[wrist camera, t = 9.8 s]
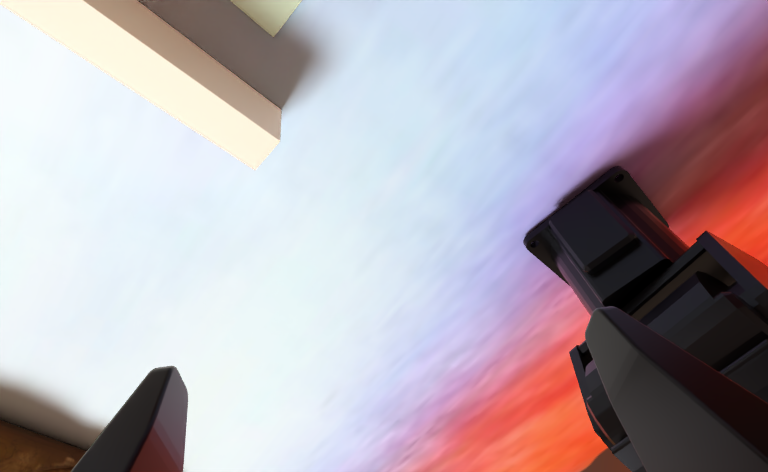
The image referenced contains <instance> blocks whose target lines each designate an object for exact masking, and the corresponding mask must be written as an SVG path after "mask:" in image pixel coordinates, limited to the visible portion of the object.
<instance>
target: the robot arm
mask: <svg viewBox="0 0 768 472" xmlns="http://www.w3.org/2000/svg"><path fill="white" fill-rule="evenodd" d="M617 175H619V176H618V177H617V178H615V177H616V176H617ZM696 240H697V242H696V243H695V244H694V245H692V246H691V247H688V246H687V245H686V244H685V243H684V242H683V241H682V240H681V239H680V238H679V237H678V236H677V235H675V234H674V233H673V232H672V231H671V230H670V229H669V225H668V223H667V222H666V221H665V219H664V218H663V217H662V216H661V214H660V213H659V212H658V210H657V209H656V208H655V207H654V205H653V204H652V203H651V201H650V200H649V199H648V198H647V196H646V195H645V194H644V192H643V191H642V190H641V189H640V187H639V186H638V185H637V183H636V182H635V181H634V180H633V178H632V177H631V176H630V174H629V173H628V172H627V171H626V170H625V169H624V168H622V167H620V166H617V167H614V168H612V169H610V170H609V171H608V172H607V173H605V174H604V175H603V176H602V177H600V178H599V179H598V180H597V181H595V182H594V183H593V184H592V185H590V186H589V187H588V188H586V189H585V190H584V191H583V192H581V193H580V194H579V195H578V196H576V197H575V198H574V199H573V200H571V201H570V202H569V203H568V204H566V205H565V206H564V207H562V208H561V209H560V210H559V211H557V212H556V213H555V214H554V215H552V216H551V217H550V218H549V219H547V220H546V221H545V222H544V223H542V224H541V225H540V226H538V227H537V228H536V229H535V230H533V231H532V232H531V233H530V234H528V235H527V236H526V237H525V238H524V241H523V243H524V245H525V246H526V248H527V249H528V250H529V251H530V252H531V253H532V254H533V255H534V256H536V257H537V258H538V259H539V260H540V261H541V262H543V263H544V264H545V265H546V266H547V267H548V268H550V269H551V270H552V271H553V272H554V273H555V274H557V275H558V276H559V277H560V278H561V279H562V280H564V281H565V282H566V283H567V284H568V285H569V286H571V288H572V289H573V291H574V292H575V294H576V295H577V296H578V298H579V299H580V301H581V302H582V304H583V305H584V307H585V308H586V310H587V311H588V312H589V314H590V315H591V319H590V321H589V324H588V326H587V329H586V332H585V338H586V340H585V341H584V342H583V343H582V344H581V345H580V346H579V345H577V346H576V347H574V348H573V349H572V350H571V351H570V352H569V353H570V357H571V360H572V363H573V366H574V370H575V373H576V376H577V380H578V383H579V386H580V389H581V393H582V396H583V399H584V403H585V406H586V409H587V412H588V415H589V418H590V420H591V423H592V426H593V429H594V431H595V432H596V434H597V435H598V436H600V437H601V439H602V440H603V442H604V443H605V444H606V445H607V446H608V448H609V449H610V450H611V451H612V453H613V454H614V455H615V456H616V457H617V458H618V459H619V460H620V461H621V462H622V463H623V464H624V465H626V466H627V467H628V468H629V469H630V470H631V471H632V472H768V267H767V266H766V265H764V264H763V263H762V262H760V261H759V260H757V259H755V258H754V257H752V256H750V255H748V254H747V253H745V252H743V251H741V250H740V249H738V248H736V247H734V246H733V245H731V244H729V243H727V242H726V241H724V240H722V239H720V238H719V237H717V236H715V235H713V234H712V233H710V232H708V231H705V232H704V233H703V234H702V235H700V236H699V237H698V238H697V239H696ZM533 241H535V242H533ZM532 242H533V243H532ZM187 407H188V393H187V389H186V386H185V384H184V382H183V380H182V378H181V376H180V374H179V372H178V370H177V368H176V367H174V366H166V367H159V368H155V369H153V370H151V371H150V372H149V374H148V375H147V376H146V377H145V379H144V380H143V381H142V382H141V384H140V385H139V386H138V387H137V389H136V390H135V391H134V392H133V394H132V395H131V396H130V397H129V399H128V400H127V401H126V403H125V404H124V405H123V406H122V408H121V409H120V410H119V411H118V413H117V414H116V415H115V416H114V418H113V419H112V420H111V421H110V423H109V424H108V425H107V426H106V428H105V429H104V430H103V431H102V433H101V434H100V435H99V437H98V438H97V439H96V440H95V442H94V443H93V444H92V445H91V447H90V448H89V449H88V450H87V452H86V453H85V454H84V455H83V457H82V458H81V459H80V460H79V462H78V463H77V464H76V465H75V467H74V468H73V469H72V471H71V472H183V464H184V450H185V436H186V421H187Z"/></svg>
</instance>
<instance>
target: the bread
mask: <svg viewBox="0 0 768 472" xmlns="http://www.w3.org/2000/svg"><path fill="white" fill-rule="evenodd" d="M86 452H87V451H86V450H83V449H80V448H77V447H75V446H72V445H69V444H66V443H64V442H61V441H58V440H55V439H52V438H50V437H47V436H44V435H41V434H39V433H36V432H33V431H30V430H28V429H25V428H22V427H19V426H17V425H14V424H11V423H8V422H6V421H3V420H0V472H71V471H72V469H73V468H74V467H75V465H76V464H77V463H78V462H79V460H80V459H81V458H82V457H83V455H84V454H85V453H86Z"/></svg>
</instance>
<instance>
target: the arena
mask: <svg viewBox="0 0 768 472" xmlns="http://www.w3.org/2000/svg"><path fill="white" fill-rule="evenodd" d="M230 1H231V2H232V3H233V4H235V5H236V6H237V7H238V8H239V9H241V10H242V11H243V12H244V13H245V14H246V15H248V16H249V17H250V18H251V19H252V20H253V21H255V22H256V23H257V24H258V25H259V26H261V27H262V28H263V29H264V30H265V31H266V32H268V33H269V34H270V35H271V36H272V37H273V38H274V36H275V35H276V34H277V32H278V31H279V30H280V28H281V27H282V26H283V25H284V23H285V22H286V21H287V19H288V18H289V17H290V15H291V14H292V13H293V12H294V10H295V9H296V8H297V6H298V5H299V4H300V2H301V1H302V0H230ZM0 5H2V6H3V7H5V8H7V9H8V10H10V11H11V12H13V13H14V14H16V15H17V16H19V17H20V18H22V19H23V20H25V21H27V22H28V23H30V24H31V25H33V26H34V27H36V28H37V29H39V30H40V31H42V32H43V33H45V34H46V35H48V36H50V37H51V38H53V39H54V40H56V41H57V42H59V43H60V44H62V45H63V46H65V47H66V48H68V49H69V50H71V51H73V52H74V53H76V54H77V55H79V56H80V57H82V58H83V59H85V60H86V61H88V62H89V63H91V64H93V65H94V66H96V67H97V68H99V69H100V70H102V71H103V72H105V73H106V74H108V75H109V76H111V77H112V78H114V79H116V80H117V81H119V82H120V83H122V84H123V85H125V86H126V87H128V88H129V89H131V90H132V91H134V92H136V93H137V94H139V95H140V96H142V97H143V98H145V99H146V100H148V101H149V102H151V103H152V104H154V105H155V106H157V107H159V108H160V109H162V110H163V111H165V112H166V113H168V114H169V115H171V116H172V117H174V118H175V119H177V120H178V121H180V122H182V123H183V124H185V125H186V126H188V127H189V128H191V129H192V130H194V131H195V132H197V133H198V134H200V135H202V136H203V137H205V138H206V139H208V140H209V141H211V142H212V143H214V144H215V145H217V146H218V147H220V148H221V149H223V150H225V151H226V152H228V153H229V154H231V155H232V156H234V157H235V158H237V159H238V160H240V161H241V162H243V163H244V164H246V165H248V166H249V167H251V168H252V169H254V170H256V169H257V168H258V166H259V165H260V164H261V163H262V162H263V161H264V159H265V158H266V157H267V156H268V155H269V154H270V153H271V151H272V150H273V149H274V148H275V147H276V146H277V144H278V143H279V142H280V135H281V109H280V108H278V107H277V106H276V105H274V104H273V103H272V102H270V101H269V100H268V99H266V98H265V97H264V96H262V95H261V94H260V93H259V92H257V91H256V90H255V89H253V88H252V87H251V86H249V85H248V84H247V83H245V82H244V81H243V80H241V79H240V78H239V77H237V76H236V75H235V74H233V73H232V72H231V71H230V70H228V69H227V68H226V67H224V66H223V65H222V64H220V63H219V62H218V61H216V60H215V59H214V58H212V57H211V56H210V55H208V54H207V53H206V52H204V51H203V50H202V49H201V48H199V47H198V46H197V45H195V44H194V43H193V42H191V41H190V40H189V39H187V38H186V37H185V36H183V35H182V34H181V33H179V32H178V31H177V30H175V29H174V28H173V27H172V26H170V25H169V24H168V23H166V22H165V21H164V20H162V19H161V18H160V17H158V16H157V15H156V14H154V13H153V12H152V11H150V10H149V9H148V8H146V7H145V6H144V5H143V4H141V3H140V2H139V1H137V0H0Z"/></svg>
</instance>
